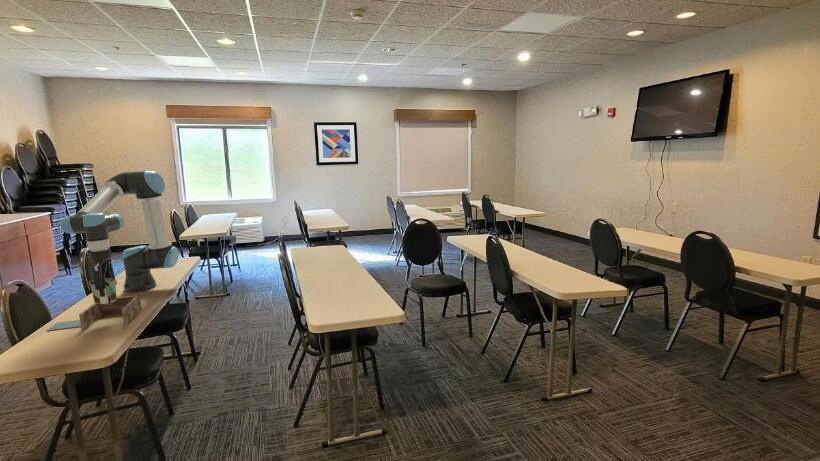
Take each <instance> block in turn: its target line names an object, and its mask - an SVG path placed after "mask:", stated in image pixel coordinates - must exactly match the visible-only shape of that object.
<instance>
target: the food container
mask: <svg viewBox="0 0 820 461" xmlns="http://www.w3.org/2000/svg"><path fill="white" fill-rule="evenodd" d="M117 285H118V282H117V279H116V278H115V279H114V278H105V288H106V289H107V295H108V300H109V303H106V304H109V305H112V304H114V303H116V302H117V288H116V287H117ZM88 286H90V290H91V294H92V297H93V298H92V299H93V303H97V304H101V302H100V297H99V291H98V290H95V282H94V279H92V280H88Z"/></svg>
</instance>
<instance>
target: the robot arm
mask: <svg viewBox="0 0 820 461" xmlns="http://www.w3.org/2000/svg"><path fill="white" fill-rule="evenodd" d="M100 188H101V189H100V190H99V191H98V192H97V193H96V194H95V195H94V196H93V197H92V198H91V199H89V201H87V202H86V204H85V205H84V206H82V208H80V210H78V211H77V212H76V213H75V214H74V215H73V216H71V215H70V216H66V217H63V218H62V219H61V222H60V228H61V229H62V231H63V233H66V234H75V235H76V234H85V238H86V243H85V245H86V246H87V249H88V250H89V252H88V255H89V260H91V261H94V262H95V263H94V265H92V272H93V280H94V282H95V290H98V291H99V297H100V302H101V304H106V303H109V300H108V295H107V289H106V288H105V278H114V279H115V280H116V276H115V272H114V267H113V265H112V259H111V258H112V256H113V255H112V251H111V243H110V237H109V233H111V232H115V231H118V230H120V229H122V228H123V227H124V224H125V221H124V217H123V216H121V214H119V213H108V214H105V212H106V210H108V208H110V207H111V205H112V204H114V202H115V201H117V199H121V198H122V197H123V196H126V195H135V196H136V197H135V198H136V199H137V200H138V201H140V204H141V210H142V213H143V217H144V222H145V227H146V230H147V231H146V232H147V235H148V240H149V244H148V245H139V246H133V247H129V248H126V249H125V250H123V251H122V261H123V266H124V272H125V278H124V279H125V280H124V282H123V283H124V284H123V291H125V292H127V293H128V292H129V293H130V292H131V293H132V292H133V293H134V292H141V291H147V290H151V289H153V288H155V287H156V286H157V281H156V279H155V277H154V276H153V274H152V272H151V270H156V269H160V270H161V269H170V268H174V267H175V266H176V265H177V262H178V260H179V250H178V247H176V246H173V243H172V241H170V240H169V239H168V233H167V229H166V224H165V219H164V215H163V210H162V205H161V200H160V198H161V197H162V196H163V193H164V192H165V188H166V186H165V181H164V179H163V176H162V175H161V174H160V173H159V172H157V171H153V170H152V171H151V170H141V171H140V170H139V171H124V172H121V173H118V174H116V175H114V176H112V177H110V178H109V179H107V180H106V181H105V182H104V183H102V185H101V187H100Z"/></svg>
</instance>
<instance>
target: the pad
mask: <svg viewBox="0 0 820 461" xmlns="http://www.w3.org/2000/svg"><path fill="white" fill-rule="evenodd" d="M76 328H81V322H80V319H77V320H68V321H60V322H56V323H54V324H53V325H52V326H51V327H49V328H48V329H46V330H45V331H46V332H52V331H59V330H60V331H61V330H68V329H76Z"/></svg>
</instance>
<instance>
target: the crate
mask: <svg viewBox="0 0 820 461" xmlns="http://www.w3.org/2000/svg"><path fill="white" fill-rule="evenodd" d="M140 297H141V295H139V294H135V295H128V296H119V297H118V296H116V298H117V302H116V303H114V304H112V305H109V304H97V303H95V302H93V303H92V304H91V305H90V306H89V307H86V309H85V310H83V311H82V312H81V313H79V314H78V316H79V320H80V322H81V327H80V328H81V331H86V330H87V329H89V328H90V327H91V326H92V325H93V324H94V323H95V322H96V321H97V320H99V319H98V318H100V317H101V318H102V316H103V314H104V315H110V314H119V313H122V315H121V316H122V321H123V326H124V325H128V324H130V322H131V321H132V320H133V319H134V318H135V317H136V316H137V315H138V313H139V312H140V311H141V310H142V305H141V298H140Z"/></svg>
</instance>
